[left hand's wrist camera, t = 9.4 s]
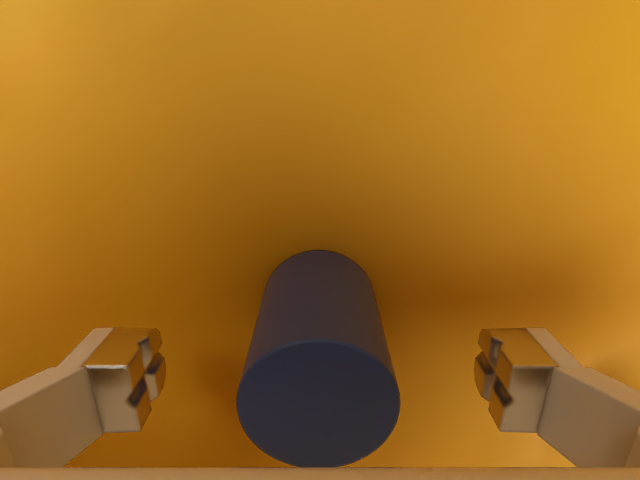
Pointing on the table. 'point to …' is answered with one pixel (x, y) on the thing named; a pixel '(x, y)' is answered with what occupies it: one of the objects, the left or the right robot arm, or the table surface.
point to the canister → (318, 366)
